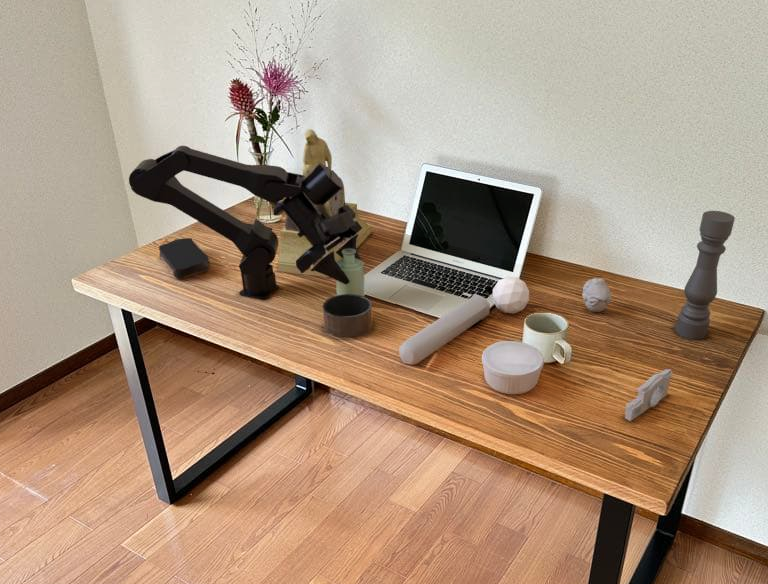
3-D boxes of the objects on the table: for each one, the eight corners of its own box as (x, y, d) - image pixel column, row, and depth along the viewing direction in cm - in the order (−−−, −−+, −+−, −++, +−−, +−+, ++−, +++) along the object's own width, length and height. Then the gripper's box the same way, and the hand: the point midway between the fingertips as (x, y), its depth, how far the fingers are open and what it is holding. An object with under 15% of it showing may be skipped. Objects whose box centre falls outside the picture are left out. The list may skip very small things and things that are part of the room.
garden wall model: (630, 423, 123) (636, 394, 120) (621, 418, 124) (627, 390, 121) (668, 395, 130) (675, 368, 127) (660, 391, 131) (666, 363, 128)
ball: (517, 320, 158) (543, 297, 154) (497, 321, 152) (523, 297, 147) (499, 293, 160) (524, 269, 156) (478, 292, 154) (503, 268, 150)
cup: (315, 333, 146) (314, 312, 144) (337, 311, 154) (336, 290, 151) (360, 343, 144) (359, 321, 141) (379, 320, 151) (379, 299, 149)
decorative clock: (328, 278, 167) (320, 148, 151) (277, 271, 170) (264, 142, 154) (370, 233, 190) (367, 115, 174) (325, 227, 193) (317, 111, 177)
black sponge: (214, 274, 168) (211, 260, 166) (177, 282, 164) (174, 268, 162) (192, 249, 180) (190, 235, 178) (157, 257, 176) (154, 242, 174)
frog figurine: (600, 301, 160) (605, 272, 156) (614, 316, 154) (619, 286, 151) (574, 303, 159) (578, 274, 155) (588, 319, 153) (592, 289, 149)
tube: (418, 355, 133) (493, 304, 149) (396, 338, 134) (473, 289, 151) (411, 375, 136) (485, 322, 153) (390, 358, 138) (466, 308, 155)
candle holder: (706, 327, 151) (736, 212, 138) (706, 341, 146) (736, 224, 133) (675, 322, 153) (701, 208, 139) (674, 336, 148) (701, 219, 134)
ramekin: (498, 404, 127) (500, 379, 124) (469, 371, 136) (471, 347, 133) (553, 390, 131) (556, 366, 128) (522, 359, 139) (524, 335, 137)
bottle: (332, 305, 156) (329, 254, 150) (344, 293, 161) (342, 243, 155) (357, 310, 155) (356, 258, 148) (369, 298, 160) (368, 247, 153)
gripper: (304, 212, 140) (356, 275, 142) (352, 183, 154) (399, 241, 156) (273, 242, 147) (323, 302, 149) (323, 212, 161) (368, 267, 163)
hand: (355, 277), depth 154 cm, fingers closed on bottle, 6 cm apart
